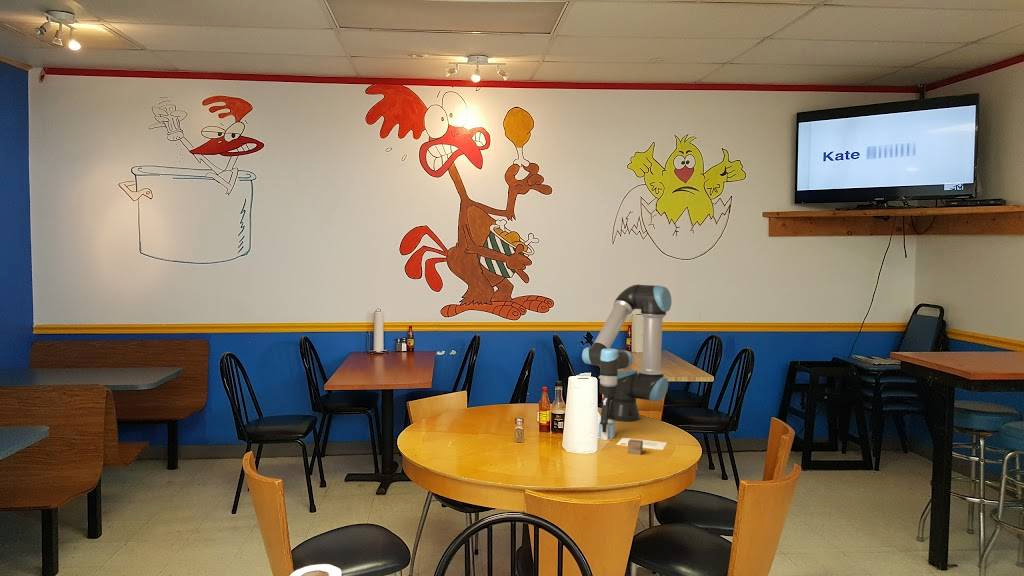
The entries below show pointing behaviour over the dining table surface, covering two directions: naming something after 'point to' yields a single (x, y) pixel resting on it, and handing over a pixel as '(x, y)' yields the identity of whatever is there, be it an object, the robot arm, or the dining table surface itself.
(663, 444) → the letter mat
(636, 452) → the walnut block
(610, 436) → the blue cube
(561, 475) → the dining table surface
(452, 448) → the dining table surface
